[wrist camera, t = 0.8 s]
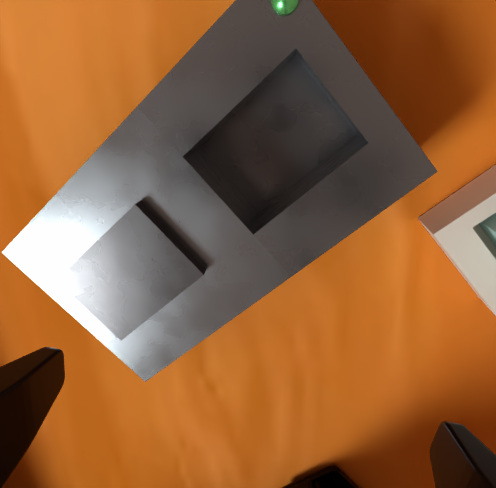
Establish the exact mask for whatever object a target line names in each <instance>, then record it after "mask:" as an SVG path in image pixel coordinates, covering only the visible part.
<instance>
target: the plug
mask: <svg viewBox="0 0 496 488" xmlns="http://www.w3.org/2000/svg"><path fill="white" fill-rule="evenodd" d="M479 225H480V227H481V228H482V229H483V231H484V232H485V234H486V235H487V236H488V238H489V239H490V240H491V242H492V243H493V244H494V246H495V247H496V213H494V214H493V215H491V216H490V217H488V218H487V219H485V220H483V221H482V222H480V223H479Z"/></svg>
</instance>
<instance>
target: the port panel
mask: <svg viewBox="0 0 496 488" xmlns="http://www.w3.org/2000/svg"><path fill="white" fill-rule="evenodd" d="M436 172H437V170H436V169H435V167H434V166H433V164H432V163H431V162H430V160H429V159H428V158H427V156H426V155H425V154H424V152H423V151H422V149H421V148H420V147H419V145H418V144H417V143H416V141H415V140H414V139H413V137H412V136H411V134H410V133H409V132H408V130H407V129H406V128H405V126H404V125H403V124H402V122H401V121H400V119H399V118H398V117H397V115H396V114H395V113H394V111H393V110H392V109H391V107H390V106H389V104H388V103H387V102H386V100H385V99H384V98H383V96H382V95H381V94H380V92H379V91H378V90H377V88H376V87H375V85H374V84H373V83H372V81H371V80H370V79H369V77H368V76H367V75H366V73H365V72H364V70H363V69H362V68H361V66H360V65H359V64H358V62H357V61H356V60H355V58H354V57H353V55H352V54H351V53H350V51H349V50H348V49H347V47H346V46H345V45H344V43H343V42H342V40H341V39H340V38H339V36H338V35H337V34H336V32H335V31H334V30H333V28H332V27H331V25H330V24H329V23H328V21H327V20H326V19H325V17H324V16H323V15H322V13H321V12H320V10H319V9H318V8H317V6H316V5H315V4H314V2H313V1H312V0H236V1H235V2H234V3H233V4H232V5H231V6H230V7H229V8H228V9H227V10H226V11H225V12H224V14H223V15H222V16H221V17H220V18H219V19H218V20H217V21H216V22H215V23H214V24H213V25H212V26H211V28H210V29H209V30H208V31H207V32H206V33H205V34H204V35H203V36H202V37H201V38H200V39H199V40H198V42H197V43H196V44H195V45H194V46H193V47H192V48H191V49H190V50H189V51H188V52H187V53H186V55H185V56H184V57H183V58H182V59H181V60H180V61H179V62H178V63H177V64H176V65H175V66H174V67H173V69H172V70H171V71H170V72H169V73H168V74H167V75H166V76H165V77H164V78H163V79H162V80H161V81H160V83H159V84H158V85H157V86H156V87H155V88H154V89H153V90H152V91H151V92H150V93H149V94H148V95H147V97H146V98H145V99H144V100H143V101H142V102H141V103H140V104H139V105H138V106H137V107H136V108H135V109H134V111H133V112H132V113H131V114H130V115H129V116H128V117H127V118H126V119H125V120H124V121H123V122H122V123H121V125H120V126H119V127H118V128H117V129H116V130H115V131H114V132H113V133H112V134H111V135H110V136H109V138H108V139H107V140H106V141H105V142H104V143H103V144H102V145H101V146H100V147H99V148H98V149H97V150H96V152H95V153H94V154H93V155H92V156H91V157H90V158H89V159H88V160H87V161H86V162H85V163H84V164H83V166H82V167H81V168H80V169H79V170H78V171H77V172H76V173H75V174H74V175H73V176H72V177H71V178H70V180H69V181H68V182H67V183H66V184H65V185H64V186H63V187H62V188H61V189H60V190H59V191H58V192H57V194H56V195H55V196H54V197H53V198H52V199H51V200H50V201H49V202H48V203H47V204H46V205H45V207H44V208H43V209H42V210H41V211H40V212H39V213H38V214H37V215H36V216H35V217H34V218H33V219H32V221H31V222H30V223H29V224H28V225H27V226H26V227H25V228H24V229H23V230H22V231H21V232H20V233H19V235H18V236H17V237H16V238H15V239H14V240H13V241H12V242H11V243H10V244H9V245H8V246H7V247H6V249H5V250H4V251H3V252H2V253H3V254H4V255H5V256H6V257H7V258H8V259H10V260H11V261H12V262H13V263H14V264H15V265H16V266H17V267H18V268H20V269H21V270H22V271H23V272H24V273H25V274H26V275H27V276H28V277H30V278H31V279H32V280H33V281H34V282H35V283H36V284H37V285H38V286H40V287H41V288H42V289H43V290H44V291H45V292H46V293H47V294H48V295H50V296H51V297H52V298H53V299H54V300H55V301H56V302H57V303H58V304H60V305H61V306H62V307H63V308H64V309H65V310H66V311H67V312H68V313H69V314H71V315H72V316H73V317H74V318H75V319H76V320H77V321H78V322H79V323H81V324H82V325H83V326H84V327H85V328H86V329H87V330H88V331H89V332H91V333H92V334H93V335H94V336H95V337H96V338H97V339H98V340H99V341H101V342H102V343H103V344H104V345H105V346H106V347H107V348H108V349H109V350H111V351H112V352H113V353H114V354H115V355H116V356H117V357H118V358H119V359H121V360H122V361H123V362H124V363H125V364H126V365H127V366H128V367H129V368H131V369H132V370H133V371H134V372H135V373H136V374H137V375H138V376H139V377H141V378H142V379H143V380H144V381H147V380H148V379H150V378H151V377H152V376H154V375H155V374H157V373H158V372H159V371H161V370H162V369H163V368H165V367H166V366H168V365H169V364H170V363H172V362H173V361H175V360H176V359H177V358H179V357H180V356H182V355H183V354H184V353H186V352H187V351H189V350H190V349H191V348H193V347H194V346H195V345H197V344H198V343H200V342H201V341H202V340H204V339H205V338H207V337H208V336H209V335H211V334H212V333H214V332H215V331H216V330H218V329H219V328H221V327H222V326H223V325H225V324H226V323H227V322H229V321H230V320H232V319H233V318H234V317H236V316H237V315H239V314H240V313H241V312H243V311H244V310H246V309H247V308H248V307H250V306H251V305H252V304H254V303H255V302H257V301H258V300H259V299H261V298H262V297H264V296H265V295H266V294H268V293H269V292H271V291H272V290H273V289H275V288H276V287H278V286H279V285H280V284H282V283H283V282H284V281H286V280H287V279H289V278H290V277H291V276H293V275H294V274H296V273H297V272H298V271H300V270H301V269H303V268H304V267H305V266H307V265H308V264H310V263H311V262H312V261H314V260H315V259H316V258H318V257H319V256H321V255H322V254H323V253H325V252H326V251H328V250H329V249H330V248H332V247H333V246H335V245H336V244H337V243H339V242H340V241H342V240H343V239H344V238H346V237H347V236H348V235H350V234H351V233H353V232H354V231H355V230H357V229H358V228H360V227H361V226H362V225H364V224H365V223H367V222H368V221H369V220H371V219H372V218H374V217H375V216H376V215H378V214H379V213H380V212H382V211H383V210H385V209H386V208H387V207H389V206H390V205H392V204H393V203H394V202H396V201H397V200H399V199H400V198H401V197H403V196H404V195H405V194H407V193H408V192H410V191H411V190H412V189H414V188H415V187H417V186H418V185H419V184H421V183H422V182H424V181H425V180H426V179H428V178H429V177H431V176H432V175H433V174H435V173H436Z"/></svg>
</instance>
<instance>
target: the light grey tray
mask: <svg viewBox="0 0 496 488" xmlns="http://www.w3.org/2000/svg"><path fill="white" fill-rule="evenodd" d="M494 213H496V164H495V165H494V166H493V167H491V168H490V169H488V170H487V171H485V172H484V173H482V174H481V175H479V176H478V177H477V178H475V179H474V180H472V181H471V182H469V183H468V184H466V185H465V186H464V187H462V188H461V189H459V190H458V191H456V192H455V193H453V194H452V195H450V196H449V197H448V198H446V199H445V200H443V201H442V202H440V203H439V204H437V205H436V206H434V207H433V208H432V209H430V210H429V211H427V212H426V213H424V214H423V215H421V216H420V217H418V219H419V221H420V222H421V223H422V224H423V226H424V227H425V228H426V230H427V231H428V232H429V233H430V235H431V236H432V237H433V239H434V240H435V241H436V243H437V244H438V245H439V246H440V248H441V249H442V250H443V252H444V253H445V254H446V255H447V257H448V258H449V259H450V261H451V262H452V263H453V264H454V266H455V267H456V268H457V270H458V271H459V272H460V274H461V275H462V276H463V277H464V279H465V280H466V281H467V283H468V284H469V285H470V286H471V288H472V289H473V290H474V292H475V293H476V294H477V296H478V297H479V298H480V299H481V300H482V301H483V302H484V303H485V305H486V306H487V307H488V308H489V309H490V310H491V311H492V312H493V314H494V315H495V316H496V247H495V246H494V244H493V243H492V242H491V240H490V239H489V238H488V236H487V235H486V234H485V232H484V231H483V229H482V228H481V227H480V225H479V223H480V222H482V221H483V220H485V219H487V218H488V217H490V216H491V215H493V214H494Z"/></svg>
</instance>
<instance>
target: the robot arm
mask: <svg viewBox="0 0 496 488" xmlns="http://www.w3.org/2000/svg"><path fill="white" fill-rule="evenodd" d="M64 379H65V370H64V355H63V352H62V350H60V349H55V348H50V347H44V348H41V349H39V350H37V351H34V352H32V353H30V354H28V355H26V356H23V357H21V358H19V359H17V360H14V361H12V362H10V363H8V364H6V365H3V366H1V367H0V488H2V486H3V485H4V484H5V482H6V481H7V479H8V478H9V476H10V475H11V473H12V472H13V470H14V469H15V467H16V466H17V464H18V463H19V461H20V460H21V458H22V457H23V455H24V454H25V452H26V451H27V449H28V448H29V446H30V444H31V443H32V441H33V439H34V438H35V436H36V434H37V432H38V430H39V428H40V427H41V425H42V423H43V421H44V419H45V417H46V416H47V414H48V412H49V410H50V408H51V406H52V405H53V403H54V401H55V399H56V397H57V395H58V394H59V392H60V390H61V388H62V386H63V383H64ZM430 459H431V465H432V470H433V475H434V480H435V486H436V488H496V455H495V454H494V453H493V452H492V451H491V450H490V449H489V448H487V447H486V446H485V445H484V444H483V443H482V442H481V441H480V440H479V439H478V438H477V437H476V436H474V435H473V434H472V433H471V432H470V431H469V430H468V429H467V428H466V427H465V426H463V425H462V424H459V423H454V422H448V421H443V422H442V423H441V424H440V426H439V428H438V430H437V433H436V435H435V437H434V440H433V442H432V444H431V447H430ZM287 488H359V487H358V486H357V485H356V484H355V483H354V482H353V481H352V480H351V479H350V478H349V477H348V476H347V475H346V474H345V473H344V472H342V471H341V470H340V469H339V468H338V467H336V466H330V467H327V468H325V469H323V470H321V471H319V472H317V473H315V474H313V475H311V476H309V477H307V478H305V479H303V480H301V481H299V482H297V483H295V484H293V485H291V486H289V487H287Z"/></svg>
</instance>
